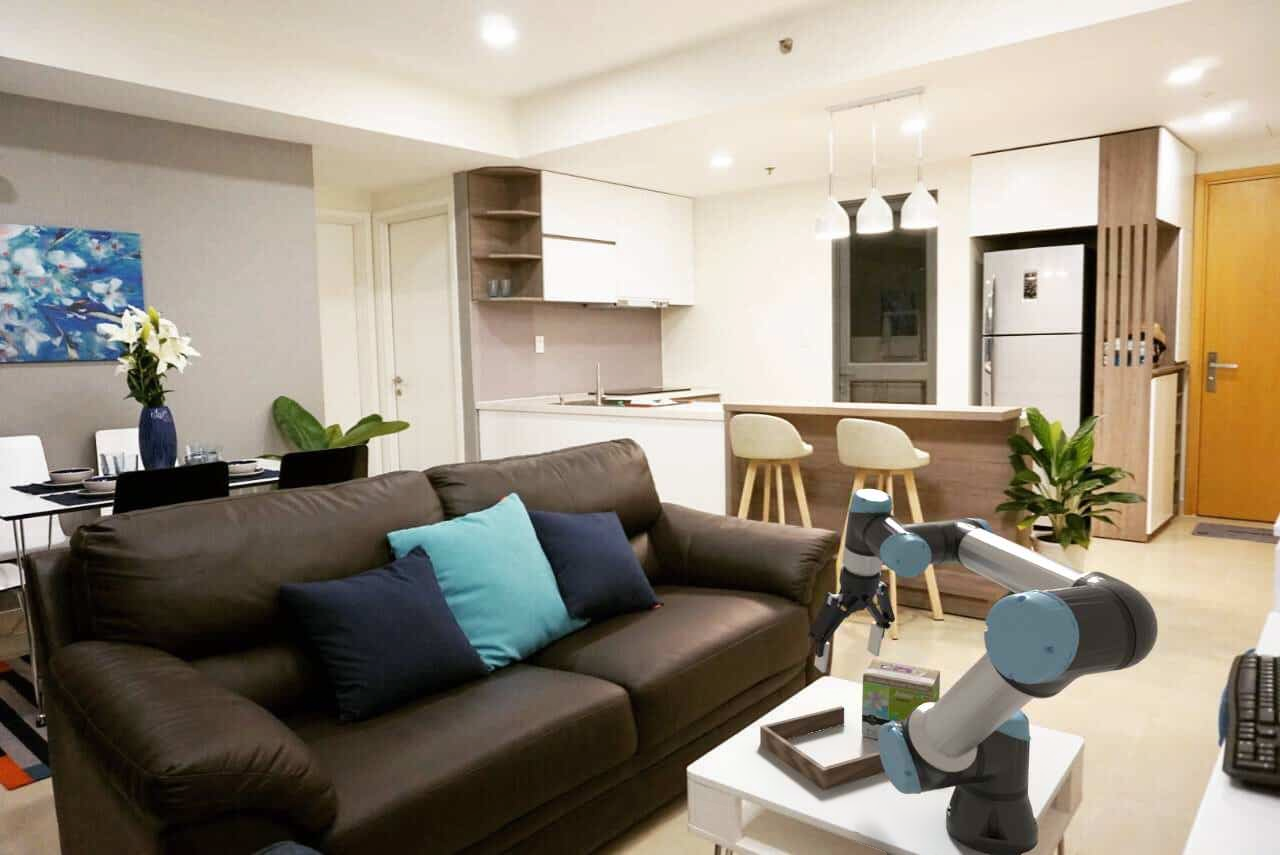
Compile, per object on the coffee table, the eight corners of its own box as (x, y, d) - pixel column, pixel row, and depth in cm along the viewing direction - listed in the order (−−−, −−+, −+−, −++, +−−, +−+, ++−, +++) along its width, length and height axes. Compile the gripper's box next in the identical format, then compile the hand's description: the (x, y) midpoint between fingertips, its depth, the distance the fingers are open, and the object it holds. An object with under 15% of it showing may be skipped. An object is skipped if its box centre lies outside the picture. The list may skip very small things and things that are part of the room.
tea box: (860, 738, 189) (861, 673, 188) (871, 720, 198) (871, 658, 196) (932, 752, 182) (933, 684, 181) (939, 732, 191) (940, 668, 190)
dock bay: (910, 764, 177) (910, 745, 177) (823, 790, 168) (823, 770, 167) (841, 723, 197) (841, 706, 196) (760, 743, 187) (760, 726, 187)
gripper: (896, 547, 174) (881, 637, 182) (797, 570, 163) (785, 664, 171) (923, 564, 168) (906, 656, 175) (822, 589, 157) (808, 686, 164)
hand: (846, 660), depth 173 cm, fingers open, 13 cm apart
